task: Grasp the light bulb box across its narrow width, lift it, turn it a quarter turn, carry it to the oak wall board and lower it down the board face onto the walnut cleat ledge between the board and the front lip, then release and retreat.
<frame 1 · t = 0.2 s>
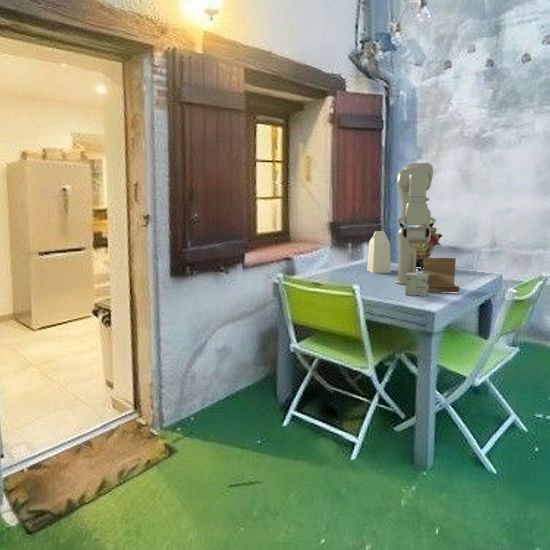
hand: (415, 237, 218), 30 cm above the table, fingers open, 9 cm apart
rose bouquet: (419, 269, 312), on the table
cleat board: (440, 289, 246), on the table
light bulb box: (416, 295, 236), on the table
milk: (378, 271, 305), on the table
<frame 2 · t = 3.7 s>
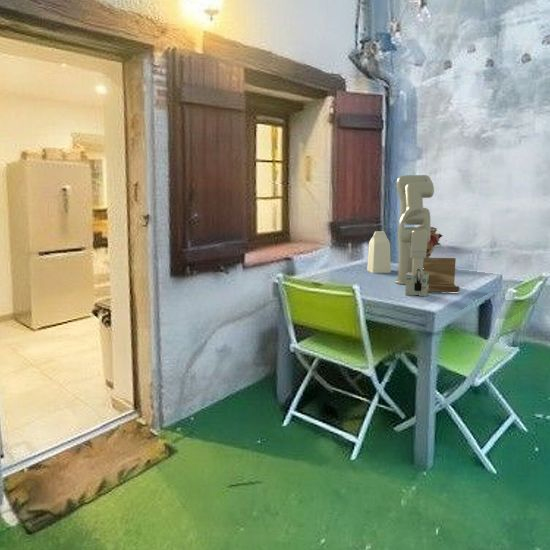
hand: (417, 288, 236), 3 cm above the table, fingers closed on light bulb box, 7 cm apart
light bulb box: (416, 294, 236), on the table, touching gripper
everything else where it was.
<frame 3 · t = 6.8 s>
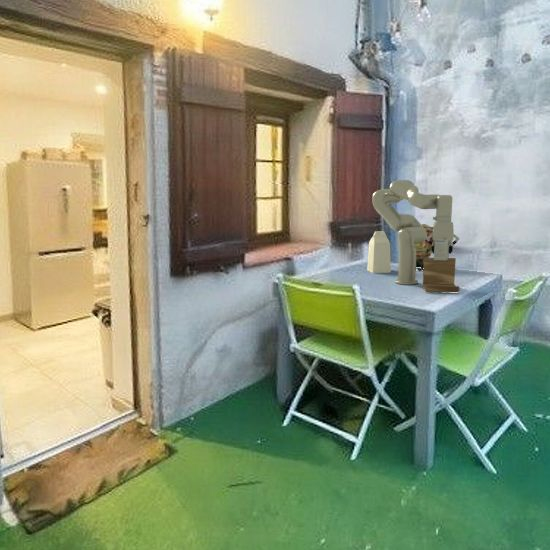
hand: (441, 253, 243), 20 cm above the table, fingers closed on light bulb box, 7 cm apart
light bulb box: (441, 259, 243), point 16 cm above the table, touching gripper
everything else where it was.
when the fingers open (6 cm above the table, at t = 10.2 s): light bulb box drops 1 cm, resting on cleat board.
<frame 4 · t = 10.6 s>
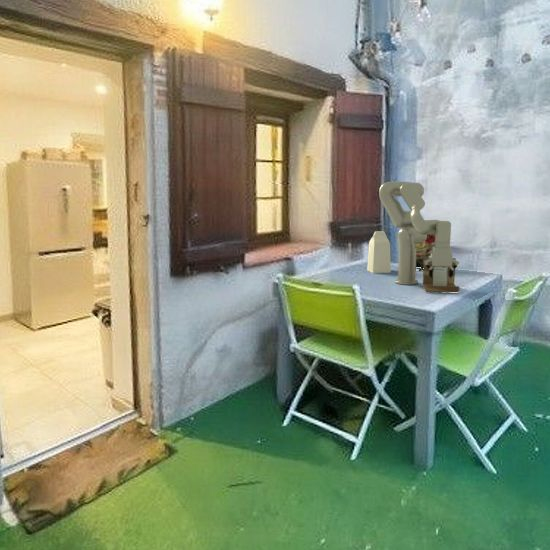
hand: (440, 277, 245), 7 cm above the table, fingers open, 9 cm apart
light bulb box: (440, 286, 246), point 2 cm above the table, touching cleat board
everything else where it was.
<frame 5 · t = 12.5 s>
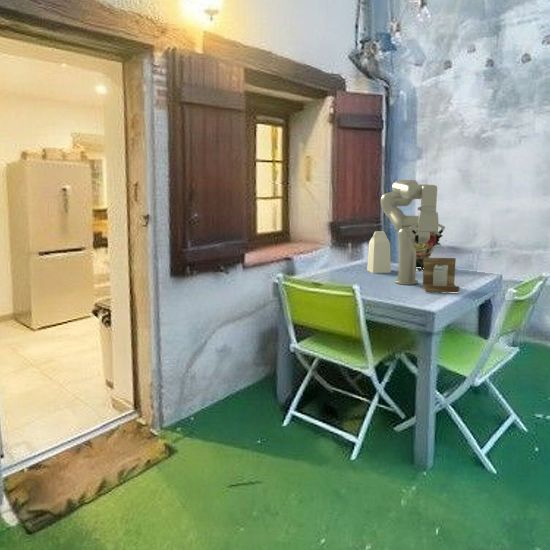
hand: (426, 242, 241), 25 cm above the table, fingers open, 9 cm apart
nothing on the table moved.
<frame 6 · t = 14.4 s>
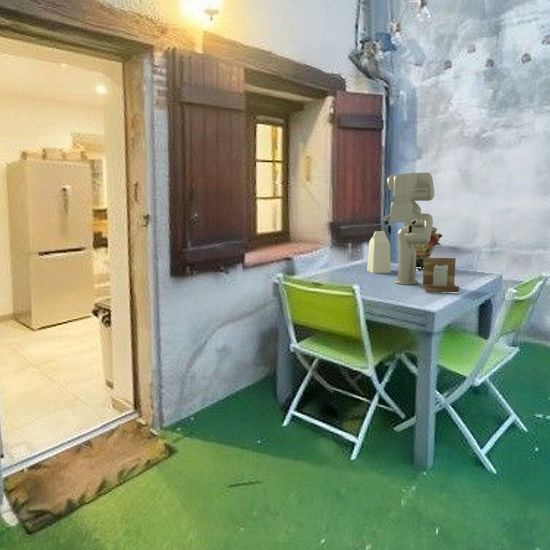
hand: (399, 233, 239), 30 cm above the table, fingers open, 9 cm apart
nothing on the table moved.
at the end: light bulb box inside the target area on the cleat board (0.1 cm from its centre), point 1.8 cm above the cleat board's base; light bulb box tilted 0°; the gripper is holding nothing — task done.
